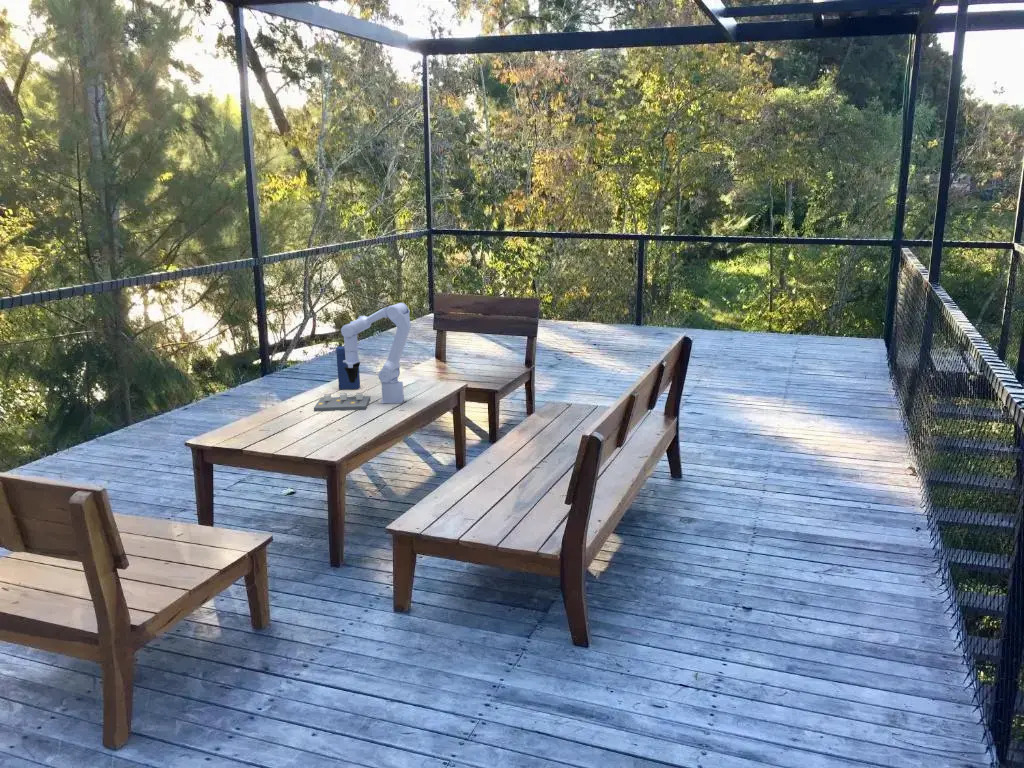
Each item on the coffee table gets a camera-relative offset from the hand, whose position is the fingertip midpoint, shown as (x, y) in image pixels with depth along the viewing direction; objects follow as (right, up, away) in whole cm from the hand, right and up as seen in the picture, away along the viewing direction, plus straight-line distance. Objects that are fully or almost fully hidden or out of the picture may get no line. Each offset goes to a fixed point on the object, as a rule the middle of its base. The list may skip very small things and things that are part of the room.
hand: (353, 380), depth 396 cm
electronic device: (-6, -4, +23) cm, 24 cm away
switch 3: (+4, -8, -5) cm, 10 cm away
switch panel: (-3, -11, -8) cm, 14 cm away
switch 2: (-3, -8, -5) cm, 11 cm away
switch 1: (-10, -9, -6) cm, 15 cm away
